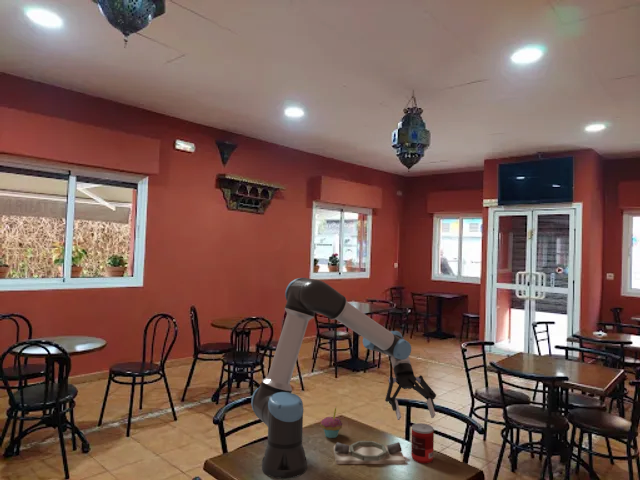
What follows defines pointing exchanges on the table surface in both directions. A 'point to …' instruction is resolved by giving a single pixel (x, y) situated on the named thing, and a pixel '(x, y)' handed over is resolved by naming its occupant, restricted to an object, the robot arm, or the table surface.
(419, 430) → the canned food
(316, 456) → the table surface
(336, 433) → the cupcake
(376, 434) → the table surface
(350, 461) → the plate
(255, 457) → the table surface
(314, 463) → the table surface
